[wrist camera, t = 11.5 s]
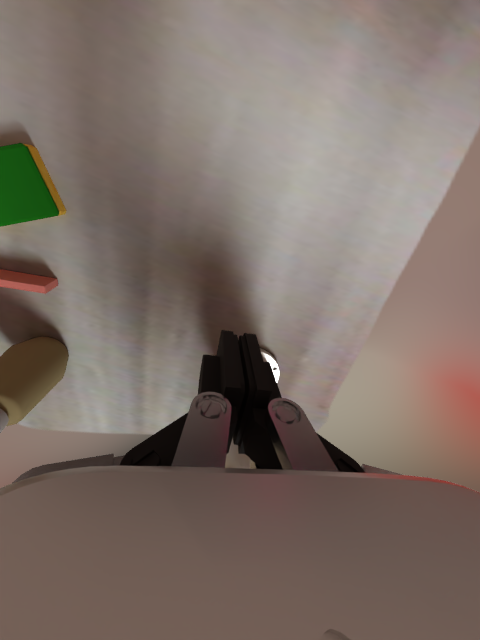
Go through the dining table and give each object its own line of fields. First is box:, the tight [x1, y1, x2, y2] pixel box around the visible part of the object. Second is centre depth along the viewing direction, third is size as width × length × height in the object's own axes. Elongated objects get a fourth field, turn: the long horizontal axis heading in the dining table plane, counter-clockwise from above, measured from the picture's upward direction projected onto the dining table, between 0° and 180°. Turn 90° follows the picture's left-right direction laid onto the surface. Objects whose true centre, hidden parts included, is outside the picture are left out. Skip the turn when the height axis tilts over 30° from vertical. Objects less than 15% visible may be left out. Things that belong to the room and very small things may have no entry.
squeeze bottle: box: [0, 336, 69, 433], centre depth 32 cm, size 8×8×18 cm
